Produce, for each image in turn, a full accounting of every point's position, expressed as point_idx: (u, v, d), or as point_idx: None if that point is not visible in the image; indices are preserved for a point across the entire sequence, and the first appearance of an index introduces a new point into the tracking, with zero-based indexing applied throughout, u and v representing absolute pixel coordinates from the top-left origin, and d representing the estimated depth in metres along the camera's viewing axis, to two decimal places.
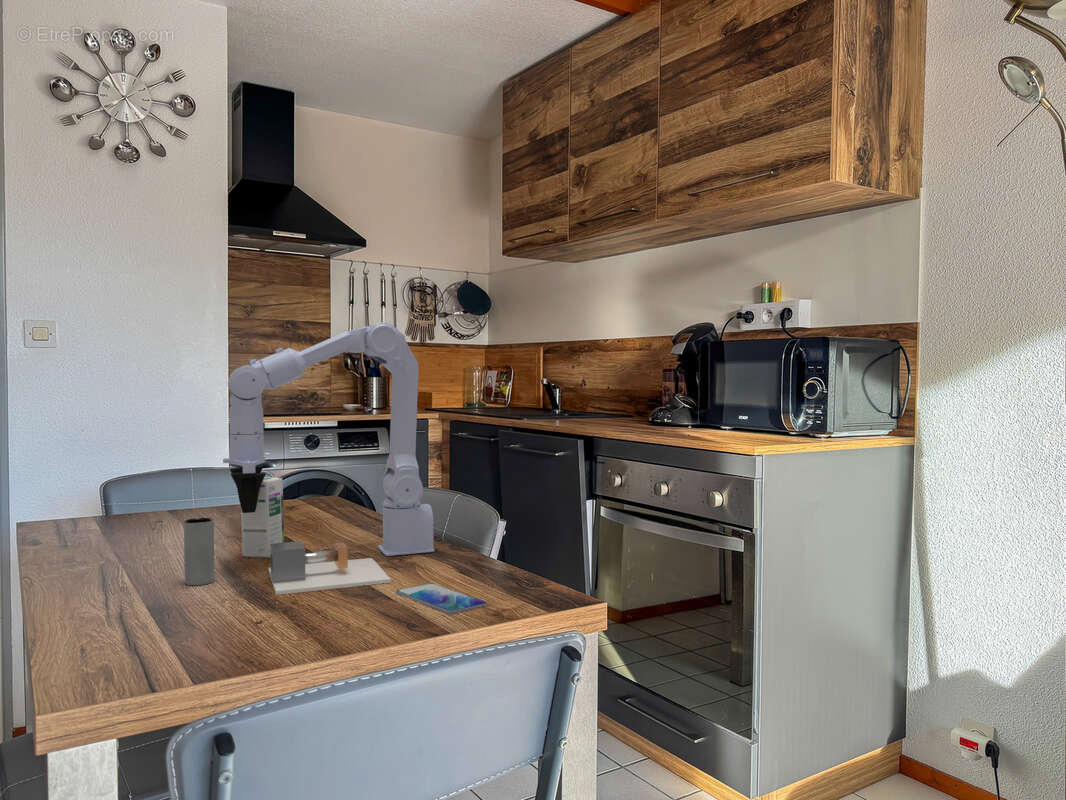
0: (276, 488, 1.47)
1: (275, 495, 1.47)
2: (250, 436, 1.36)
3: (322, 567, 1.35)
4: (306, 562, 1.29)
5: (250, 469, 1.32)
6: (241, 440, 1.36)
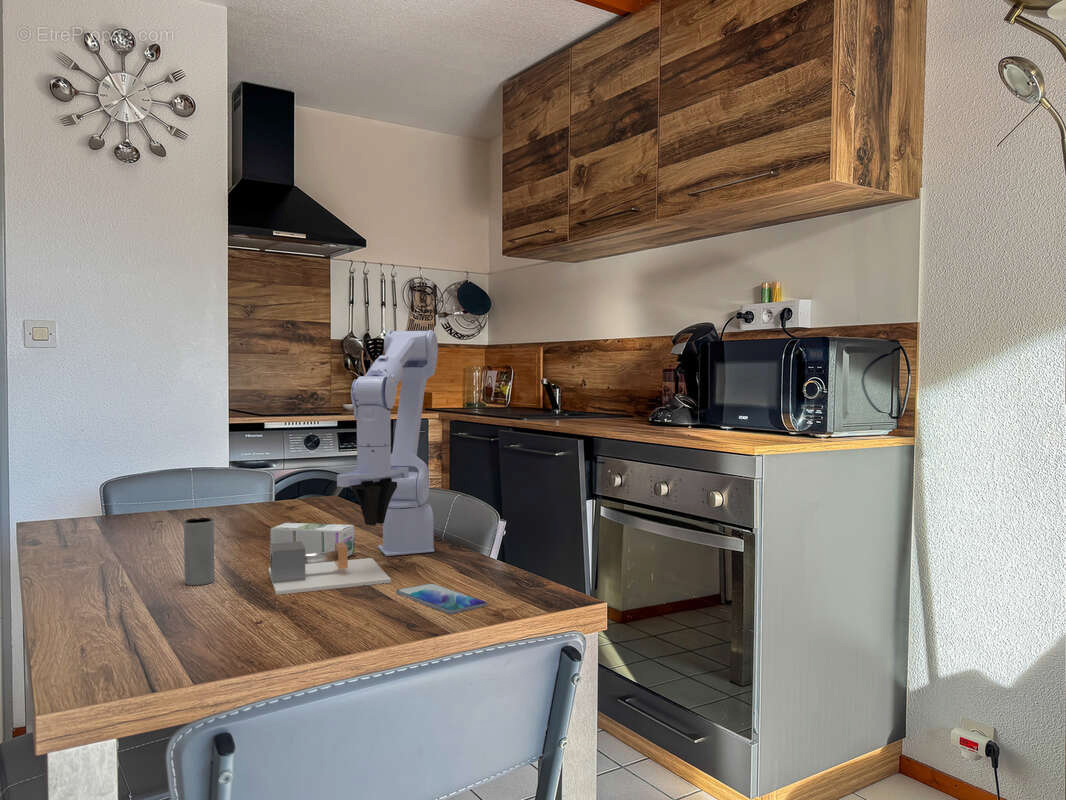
0: None
1: None
2: (363, 448, 1.31)
3: (322, 567, 1.35)
4: (306, 562, 1.29)
5: (341, 483, 1.28)
6: (358, 452, 1.32)
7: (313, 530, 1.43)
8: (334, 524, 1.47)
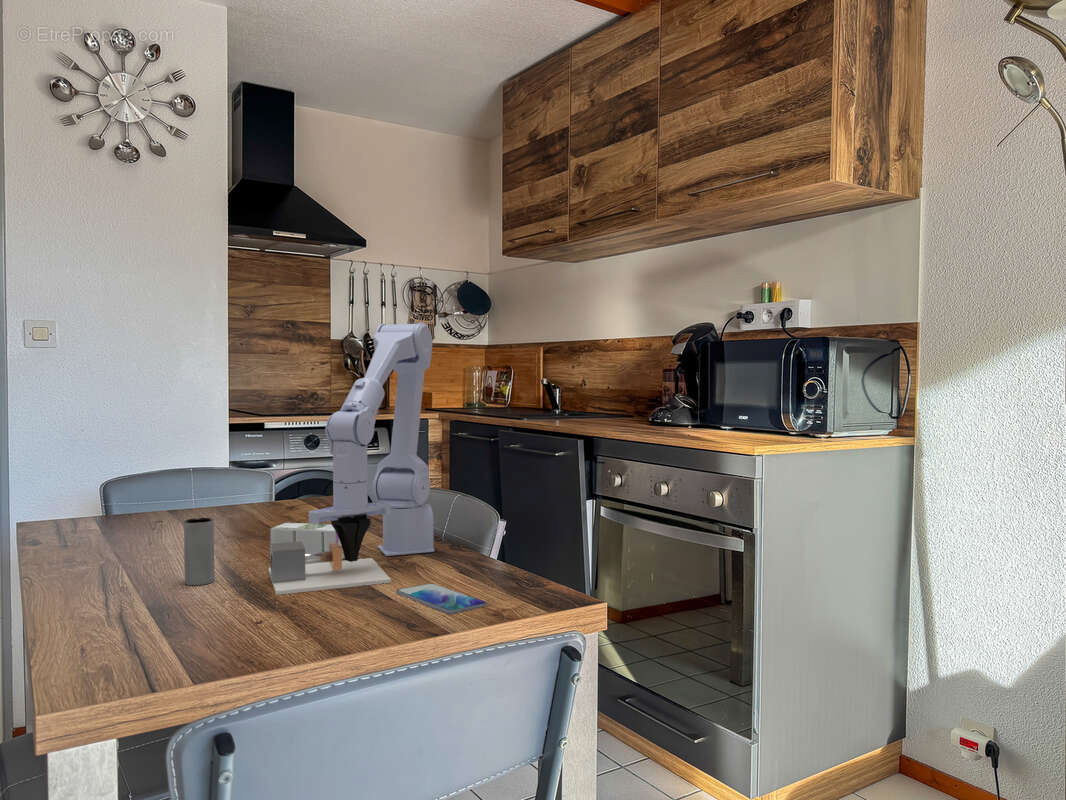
0: None
1: None
2: (336, 485, 1.30)
3: (322, 567, 1.35)
4: None
5: (311, 519, 1.27)
6: (333, 488, 1.31)
7: (313, 530, 1.43)
8: None
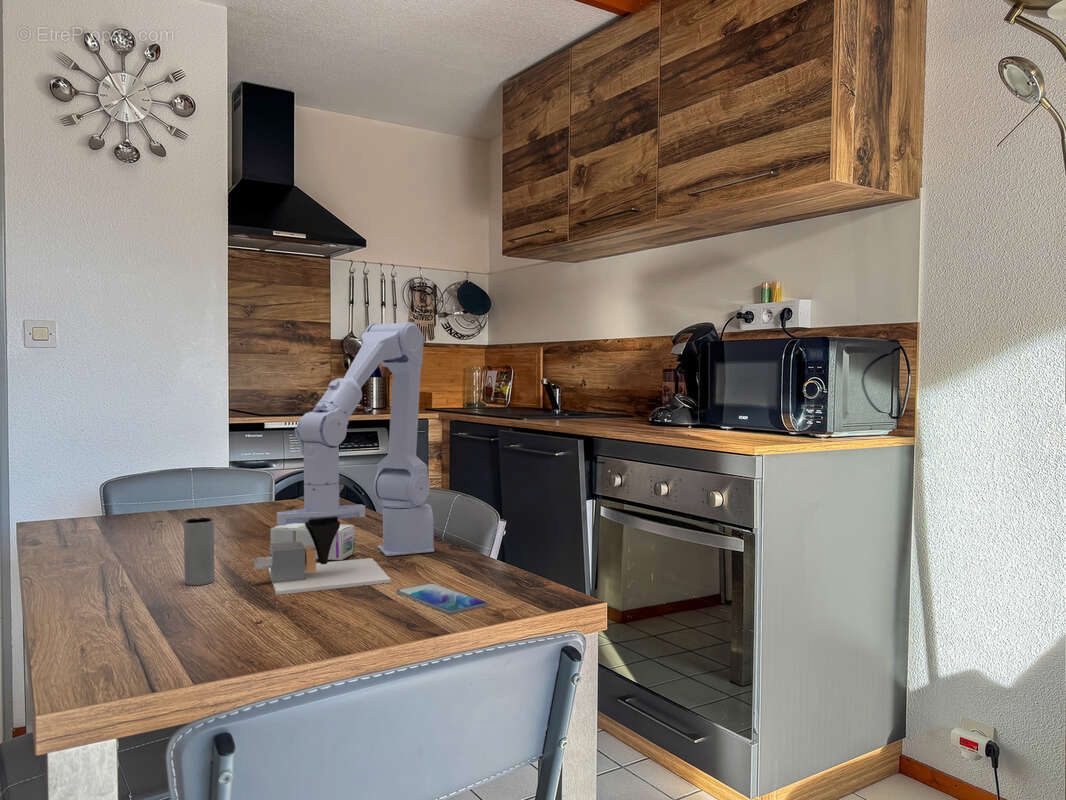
0: None
1: None
2: (305, 486, 1.28)
3: (322, 567, 1.35)
4: None
5: (278, 521, 1.26)
6: None
7: None
8: None
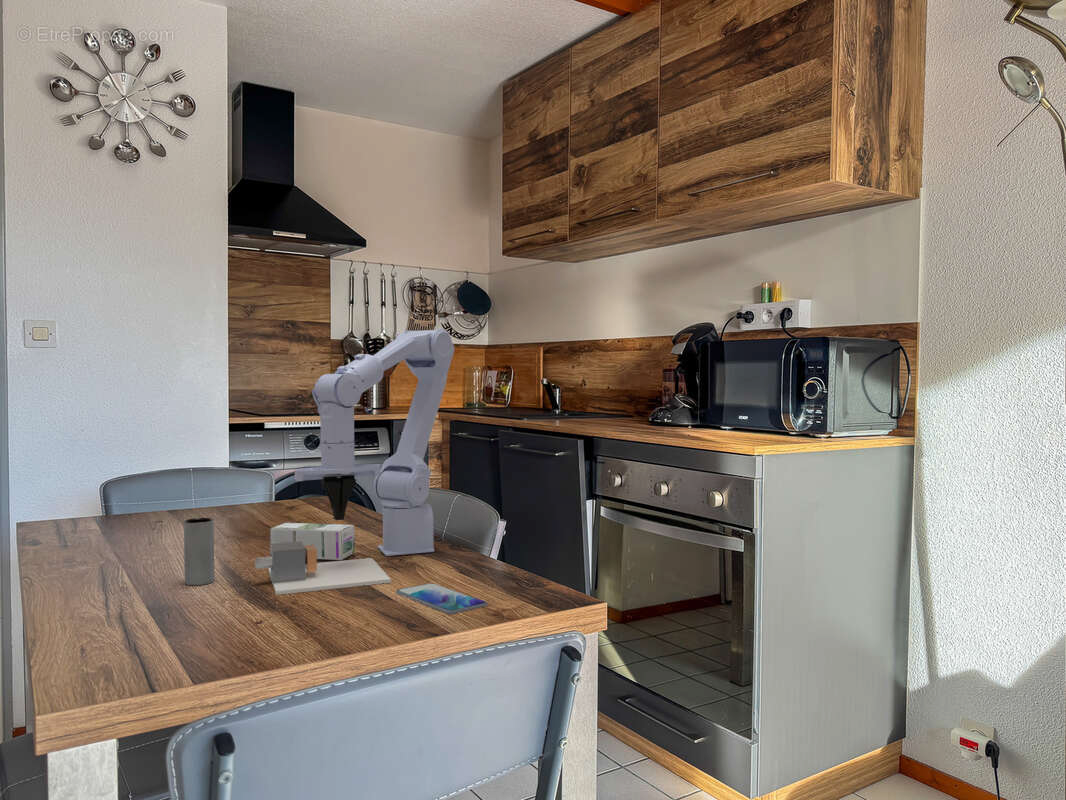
0: None
1: None
2: (322, 445, 1.34)
3: (322, 567, 1.35)
4: None
5: (296, 477, 1.32)
6: None
7: (313, 530, 1.43)
8: (334, 524, 1.47)
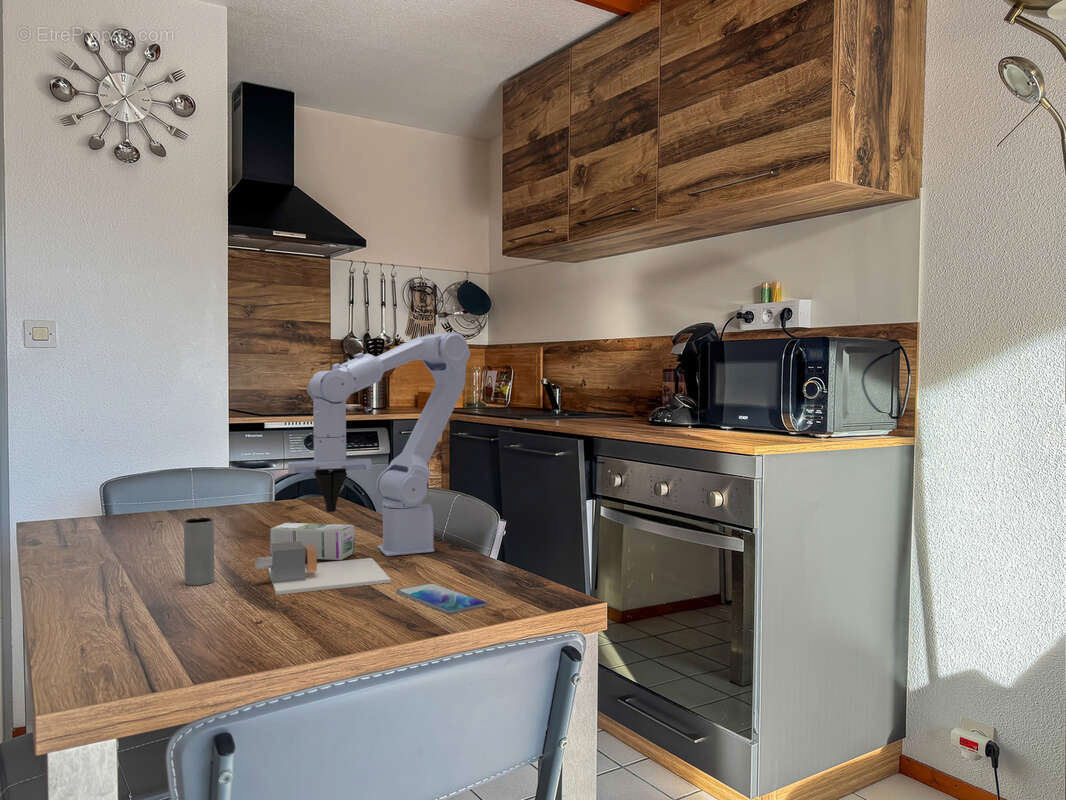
0: None
1: None
2: (314, 439, 1.39)
3: (322, 567, 1.35)
4: None
5: (288, 469, 1.38)
6: None
7: (313, 530, 1.43)
8: (334, 524, 1.47)
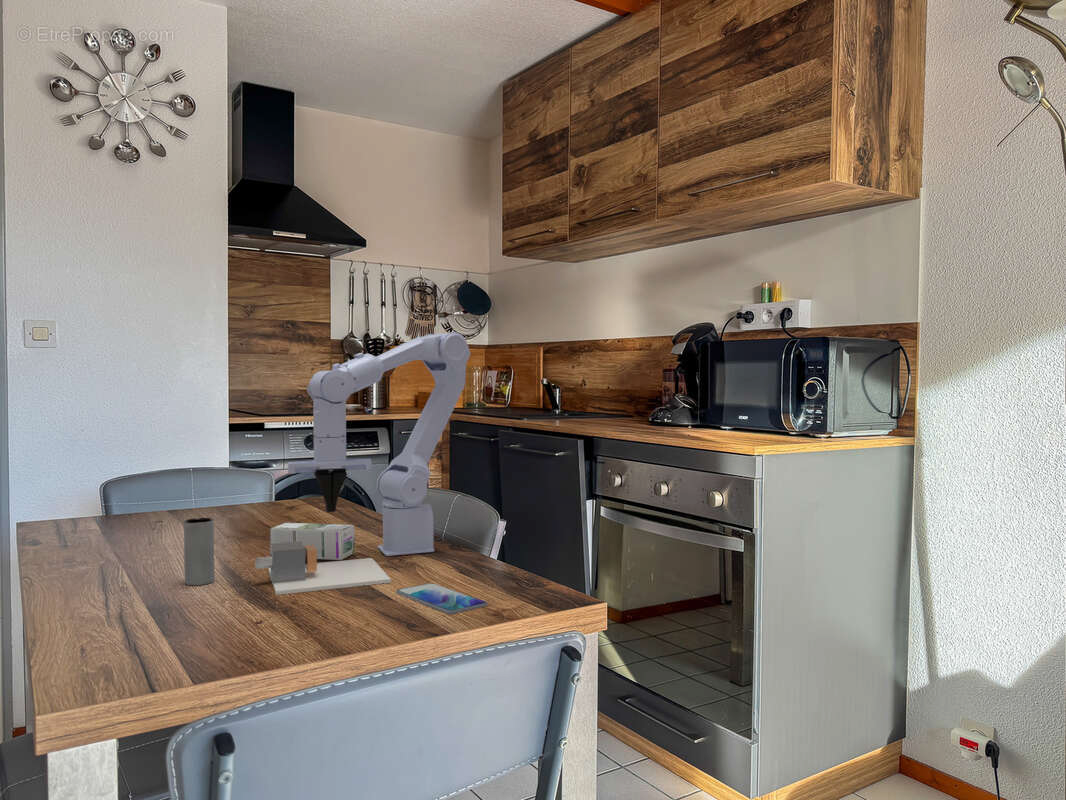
0: None
1: None
2: (314, 439, 1.39)
3: (322, 567, 1.35)
4: None
5: (288, 469, 1.38)
6: None
7: (313, 530, 1.43)
8: (334, 524, 1.47)
